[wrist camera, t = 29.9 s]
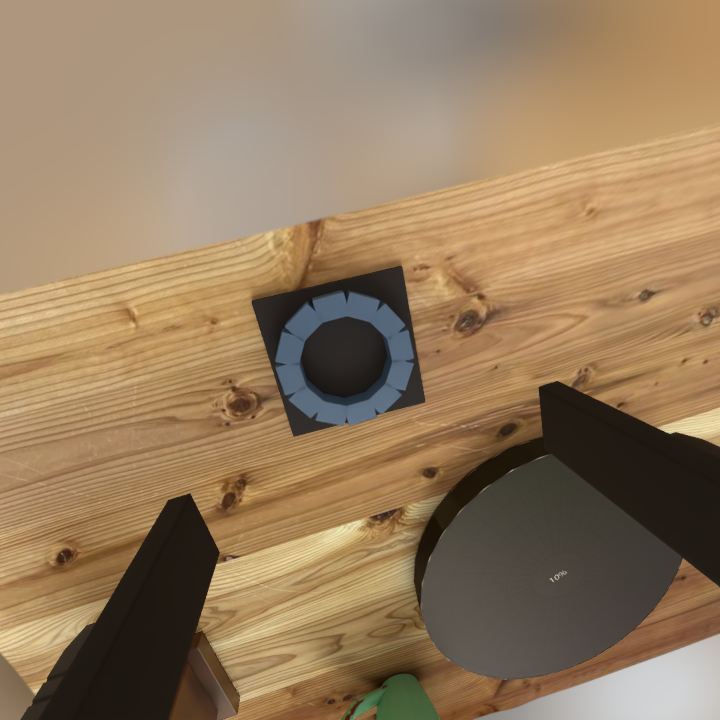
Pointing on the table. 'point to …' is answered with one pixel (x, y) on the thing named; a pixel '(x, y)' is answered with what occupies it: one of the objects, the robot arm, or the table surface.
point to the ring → (355, 405)
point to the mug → (396, 701)
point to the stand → (204, 687)
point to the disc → (534, 568)
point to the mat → (340, 343)
